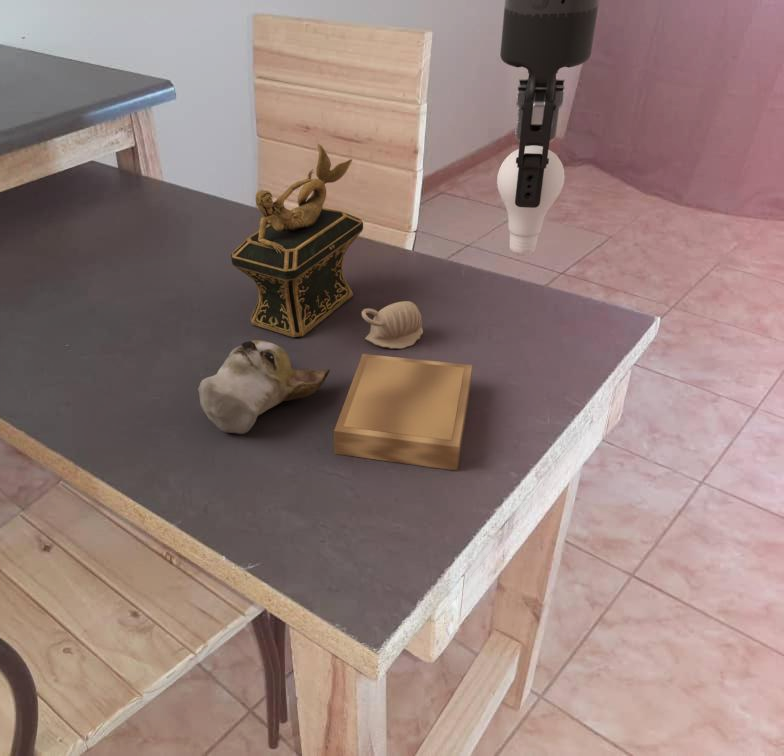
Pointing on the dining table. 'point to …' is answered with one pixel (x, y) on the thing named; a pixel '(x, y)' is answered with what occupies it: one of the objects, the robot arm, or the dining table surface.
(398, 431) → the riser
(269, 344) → the ceramic sculpture
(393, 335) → the decorative ornament
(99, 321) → the dining table surface
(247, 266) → the decorative box
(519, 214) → the lightbulb
